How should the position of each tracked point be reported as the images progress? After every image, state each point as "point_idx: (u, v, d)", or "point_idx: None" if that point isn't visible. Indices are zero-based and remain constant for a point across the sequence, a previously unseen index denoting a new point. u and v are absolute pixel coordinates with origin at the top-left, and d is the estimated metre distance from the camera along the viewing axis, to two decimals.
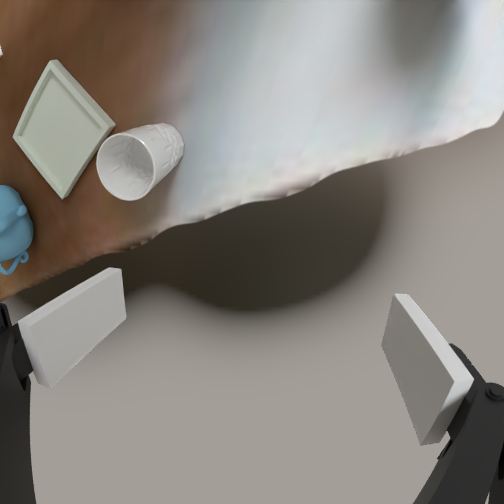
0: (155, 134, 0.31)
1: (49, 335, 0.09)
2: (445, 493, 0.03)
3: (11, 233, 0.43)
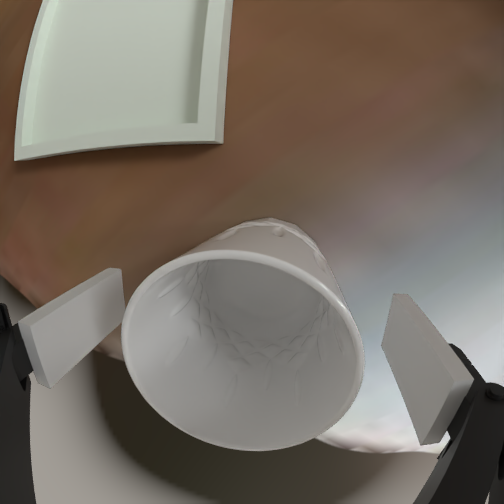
0: None
1: (49, 335, 0.09)
2: (445, 493, 0.03)
3: None
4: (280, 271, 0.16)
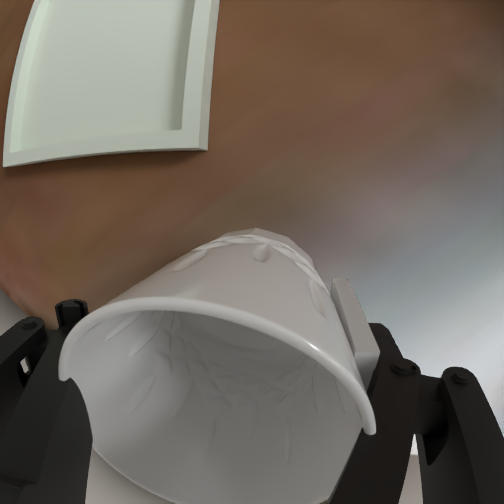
0: None
1: None
2: (357, 469, 0.04)
3: None
4: None
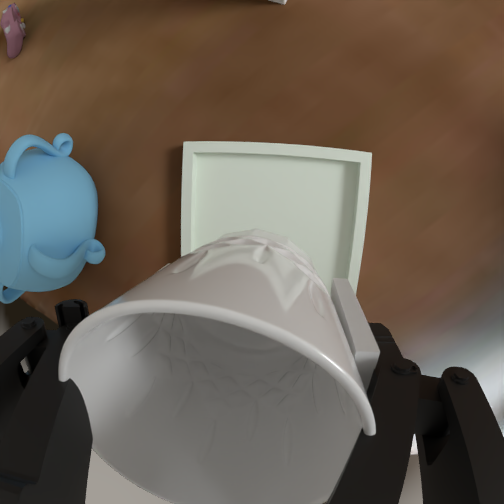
0: None
1: None
2: (357, 469, 0.04)
3: None
4: None
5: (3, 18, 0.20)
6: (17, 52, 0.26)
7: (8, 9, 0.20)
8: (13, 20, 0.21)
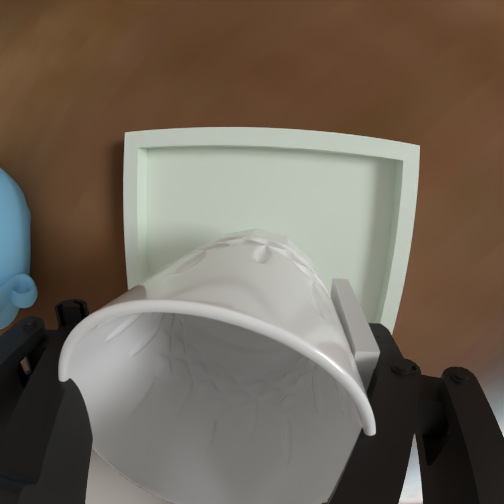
0: None
1: None
2: (357, 469, 0.04)
3: None
4: None
5: None
6: None
7: None
8: None
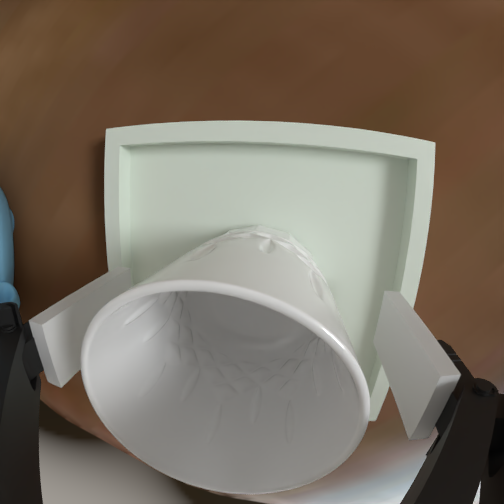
0: None
1: (60, 334, 0.09)
2: (433, 488, 0.03)
3: None
4: None
5: None
6: None
7: None
8: None
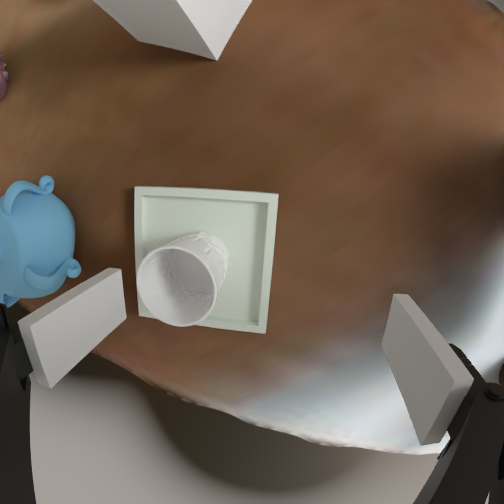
0: (222, 275, 0.30)
1: (49, 335, 0.09)
2: (445, 492, 0.03)
3: None
4: None
5: None
6: (2, 96, 0.33)
7: None
8: None
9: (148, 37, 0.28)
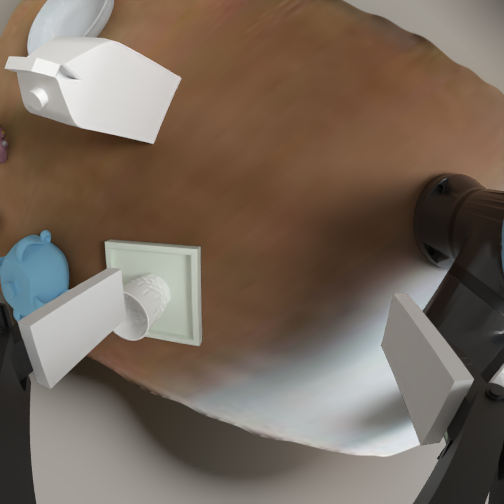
0: (157, 307, 0.43)
1: (49, 335, 0.09)
2: (446, 492, 0.03)
3: None
4: None
5: None
6: (5, 159, 0.48)
7: None
8: None
9: None
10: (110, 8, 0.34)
